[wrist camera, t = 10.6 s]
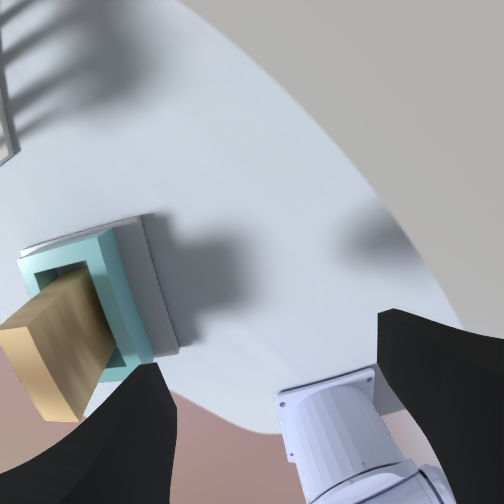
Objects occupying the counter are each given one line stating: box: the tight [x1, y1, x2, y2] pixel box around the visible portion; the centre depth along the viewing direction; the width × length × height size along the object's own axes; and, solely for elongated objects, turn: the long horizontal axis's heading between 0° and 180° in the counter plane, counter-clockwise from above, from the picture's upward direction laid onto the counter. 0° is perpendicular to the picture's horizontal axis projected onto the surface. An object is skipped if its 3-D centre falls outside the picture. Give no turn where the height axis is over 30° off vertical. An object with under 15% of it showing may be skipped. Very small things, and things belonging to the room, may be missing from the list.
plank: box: [0, 266, 117, 422], centre depth 14 cm, size 5×2×8 cm, turn 11°
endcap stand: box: [17, 216, 180, 383], centre depth 17 cm, size 9×9×3 cm
